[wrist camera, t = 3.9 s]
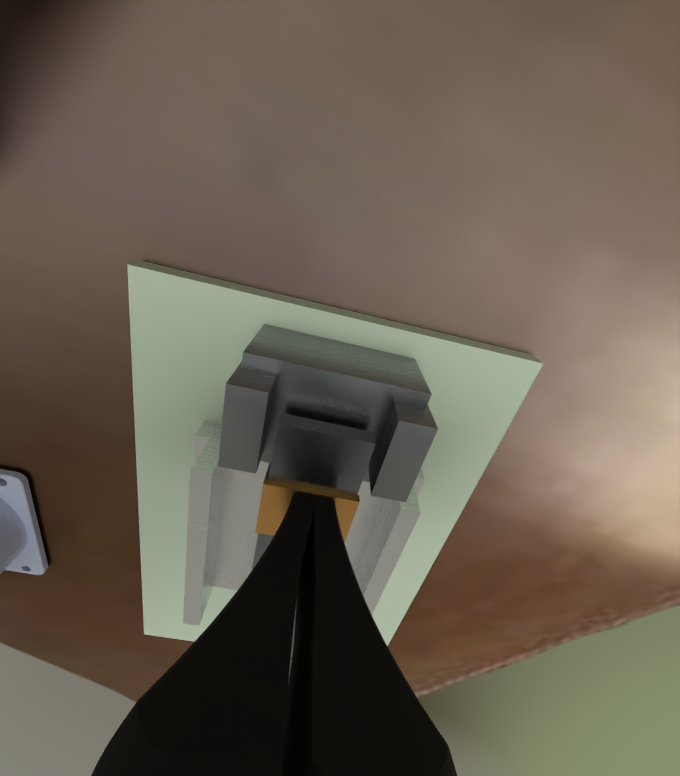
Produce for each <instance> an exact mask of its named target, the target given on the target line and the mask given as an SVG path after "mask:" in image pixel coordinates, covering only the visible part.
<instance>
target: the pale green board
mask: <svg viewBox="0 0 680 776" xmlns="http://www.w3.org/2000/svg"><path fill="white" fill-rule="evenodd" d="M127 266H128V288H129V310H130V332H131V354H132V376H133V398H134V420H135V442H136V464H137V486H138V509H139V531H140V553H141V575H142V597H143V619H144V634H146V635H153V636H160V637H167V638H174V639H181V640H188V641H196V640H197V638H198V637H199V636H200V635H201V634H202V633H203V632H204V631H205V630H206V629H207V627H208V626H209V625H210V624H211V623H212V622H213V620H214V619H215V618H216V617H217V616H218V614H219V613H220V612H221V611H222V609H223V608H224V607H225V606H226V604H227V603H228V602H229V601H230V599H231V598H232V597H233V596H234V594H235V593H236V592H237V591H238V590H232V589H226V588H220V587H213V589H212V592H211V594H210V597H209V600H208V603H207V606H206V608H205V611H204V614H203V617H202V620H201V622H200V625H199V626H198V625H191V624H184V623H183V611H184V589H185V568H186V546H187V525H188V503H189V481H190V469H191V467H192V465H193V464H194V445H195V434H196V432H197V431H198V429H199V428H200V426H201V425H202V424H203V422H204V421H205V422H210V423H215V424H220V425H222V418H223V407H224V397H225V386H226V383H227V381H228V380H229V378H230V377H231V375H232V374H233V373H234V371H235V370H236V368H237V367H238V366H239V364H240V363H241V361H242V356H243V351H244V350H245V349H246V347H247V346H248V345H249V343H250V342H251V341H252V339H253V338H254V337H255V335H256V334H257V333H258V331H259V330H260V329H261V327H262V326H263V325H264V324H268V325H272V326H276V327H280V328H285V329H289V330H293V331H298V332H302V333H306V334H311V335H315V336H319V337H324V338H328V339H332V340H337V341H341V342H345V343H350V344H354V345H358V346H363V347H367V348H371V349H376V350H380V351H384V352H389V353H393V354H397V355H402V356H406V357H410V358H415V360H416V362H417V364H418V366H419V368H420V370H421V373H422V375H423V377H424V379H425V381H426V383H427V385H428V387H429V389H430V392H431V394H432V395H431V397H430V400H429V402H428V406H429V409H430V411H431V413H432V416H433V418H434V420H435V423H436V425H437V427H438V430H437V433H436V435H435V437H434V440H433V442H432V444H431V446H430V449H429V451H428V453H427V455H426V458H425V460H424V462H423V464H422V467H421V468H422V472H423V475H424V478H425V481H424V483H423V485H422V487H421V490H420V492H419V494H418V496H417V500H418V504H419V508H420V512H421V514H420V516H419V518H418V520H417V522H416V524H415V526H414V528H413V530H412V532H411V534H410V537H409V539H408V541H407V543H406V545H405V547H404V549H403V551H402V553H401V555H400V558H399V560H398V562H397V564H396V566H395V568H394V570H393V572H392V574H391V576H390V578H389V581H388V583H387V585H386V587H385V589H384V591H383V593H382V595H381V597H380V599H379V601H378V604H377V606H376V608H375V610H374V612H373V614H372V617H373V619H374V621H375V623H376V625H377V627H378V629H379V631H380V633H381V635H382V637H383V639H384V641H385V643H386V645H387V646H388V644H389V642H390V640H391V639H392V637H393V635H394V633H395V631H396V630H397V628H398V626H399V624H400V622H401V621H402V619H403V617H404V615H405V613H406V612H407V610H408V608H409V606H410V604H411V603H412V601H413V599H414V597H415V595H416V593H417V592H418V590H419V588H420V586H421V584H422V583H423V581H424V579H425V577H426V575H427V574H428V572H429V570H430V568H431V566H432V565H433V563H434V561H435V559H436V557H437V555H438V554H439V552H440V550H441V548H442V546H443V545H444V543H445V541H446V539H447V537H448V536H449V534H450V532H451V530H452V528H453V527H454V525H455V523H456V521H457V519H458V517H459V516H460V514H461V512H462V510H463V508H464V507H465V505H466V503H467V501H468V499H469V498H470V496H471V494H472V492H473V490H474V489H475V487H476V485H477V483H478V481H479V479H480V478H481V476H482V474H483V472H484V470H485V469H486V467H487V465H488V463H489V461H490V460H491V458H492V456H493V454H494V452H495V451H496V449H497V447H498V445H499V443H500V441H501V440H502V438H503V436H504V434H505V432H506V431H507V429H508V427H509V425H510V423H511V422H512V420H513V418H514V416H515V414H516V413H517V411H518V409H519V407H520V405H521V403H522V402H523V400H524V398H525V396H526V394H527V393H528V391H529V389H530V387H531V385H532V384H533V382H534V380H535V378H536V376H537V375H538V373H539V371H540V369H541V367H542V365H543V363H542V362H541V361H539V360H538V359H537V358H535V357H534V356H533V355H532V354H528V353H524V352H519V351H515V350H511V349H507V348H503V347H499V346H495V345H490V344H486V343H482V342H478V341H474V340H470V339H465V338H461V337H457V336H453V335H449V334H445V333H440V332H436V331H432V330H428V329H424V328H420V327H415V326H411V325H407V324H403V323H399V322H395V321H390V320H386V319H382V318H378V317H374V316H370V315H365V314H361V313H357V312H353V311H349V310H345V309H341V308H336V307H332V306H328V305H324V304H320V303H316V302H311V301H307V300H303V299H299V298H295V297H291V296H286V295H282V294H278V293H274V292H270V291H266V290H261V289H257V288H253V287H249V286H245V285H241V284H236V283H232V282H228V281H224V280H220V279H216V278H212V277H207V276H203V275H199V274H195V273H191V272H187V271H182V270H178V269H174V268H170V267H166V266H162V265H157V264H153V263H149V262H145V261H140V262H136V263H131V264H127Z"/></svg>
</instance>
